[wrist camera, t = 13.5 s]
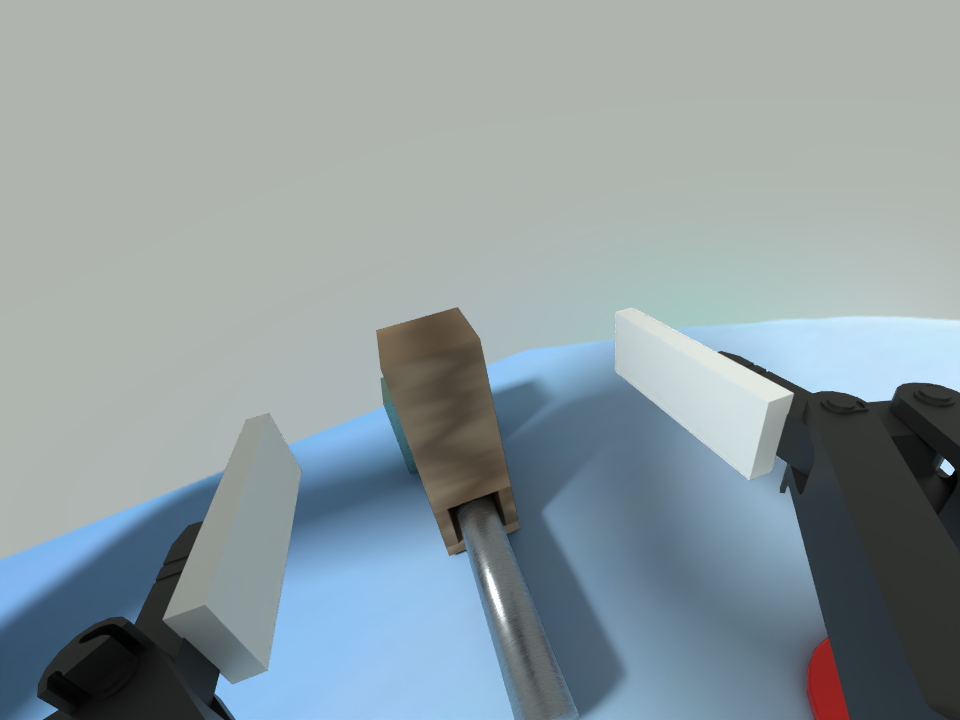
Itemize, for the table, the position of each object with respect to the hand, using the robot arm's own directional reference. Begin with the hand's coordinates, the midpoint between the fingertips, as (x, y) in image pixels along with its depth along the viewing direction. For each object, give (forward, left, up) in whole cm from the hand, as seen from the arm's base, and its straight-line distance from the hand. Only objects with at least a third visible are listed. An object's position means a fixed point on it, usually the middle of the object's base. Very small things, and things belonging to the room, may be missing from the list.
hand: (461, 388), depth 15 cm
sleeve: (0, +11, -20) cm, 23 cm away
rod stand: (0, +10, -20) cm, 23 cm away
